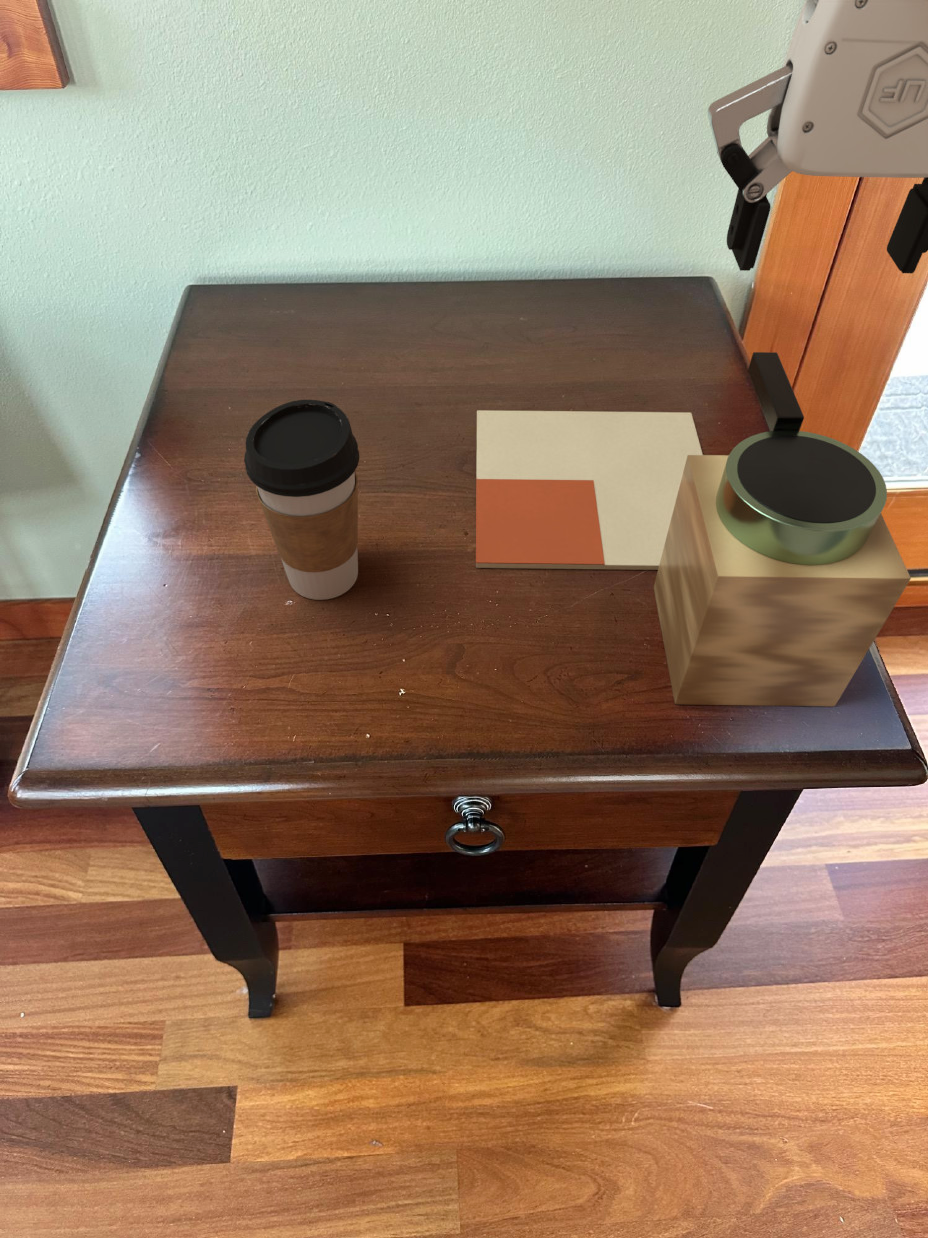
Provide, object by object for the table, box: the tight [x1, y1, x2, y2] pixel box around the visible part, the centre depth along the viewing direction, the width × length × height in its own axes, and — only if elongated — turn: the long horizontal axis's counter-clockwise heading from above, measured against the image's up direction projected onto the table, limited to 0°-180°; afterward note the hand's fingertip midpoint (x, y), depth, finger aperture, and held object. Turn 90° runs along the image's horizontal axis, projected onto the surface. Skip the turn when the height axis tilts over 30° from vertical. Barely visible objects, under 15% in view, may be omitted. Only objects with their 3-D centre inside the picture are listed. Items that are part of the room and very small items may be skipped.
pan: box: [716, 351, 888, 565], centre depth 57 cm, size 18×10×4 cm, turn 179°
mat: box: [475, 409, 704, 571], centre depth 79 cm, size 22×22×1 cm
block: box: [653, 454, 912, 707], centre depth 61 cm, size 12×12×14 cm
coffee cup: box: [243, 399, 360, 601], centre depth 66 cm, size 8×8×15 cm
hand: (820, 261), depth 51 cm, fingers open, 9 cm apart
